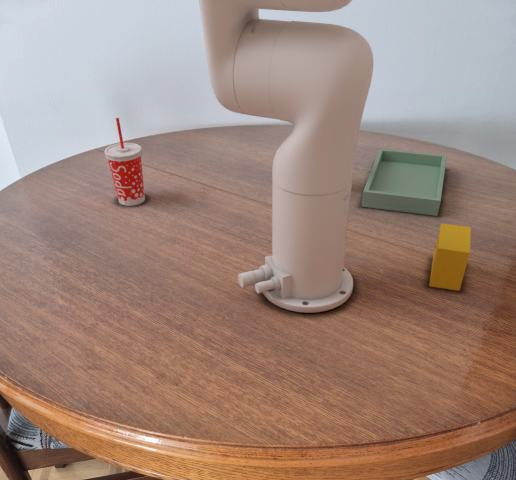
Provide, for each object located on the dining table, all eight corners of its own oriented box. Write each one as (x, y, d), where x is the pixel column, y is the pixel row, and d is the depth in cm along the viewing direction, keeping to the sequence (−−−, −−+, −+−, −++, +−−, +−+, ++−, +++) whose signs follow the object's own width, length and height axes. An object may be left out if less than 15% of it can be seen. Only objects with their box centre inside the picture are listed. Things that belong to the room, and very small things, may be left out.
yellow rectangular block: (459, 291, 74) (470, 252, 70) (429, 286, 74) (437, 248, 71) (461, 264, 79) (471, 227, 75) (432, 260, 80) (441, 223, 76)
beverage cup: (107, 200, 96) (90, 119, 87) (135, 189, 99) (121, 109, 90) (128, 211, 93) (112, 127, 83) (156, 199, 96) (144, 117, 87)
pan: (437, 216, 90) (440, 200, 88) (361, 206, 93) (363, 191, 91) (443, 169, 104) (446, 155, 102) (377, 162, 107) (379, 148, 105)
